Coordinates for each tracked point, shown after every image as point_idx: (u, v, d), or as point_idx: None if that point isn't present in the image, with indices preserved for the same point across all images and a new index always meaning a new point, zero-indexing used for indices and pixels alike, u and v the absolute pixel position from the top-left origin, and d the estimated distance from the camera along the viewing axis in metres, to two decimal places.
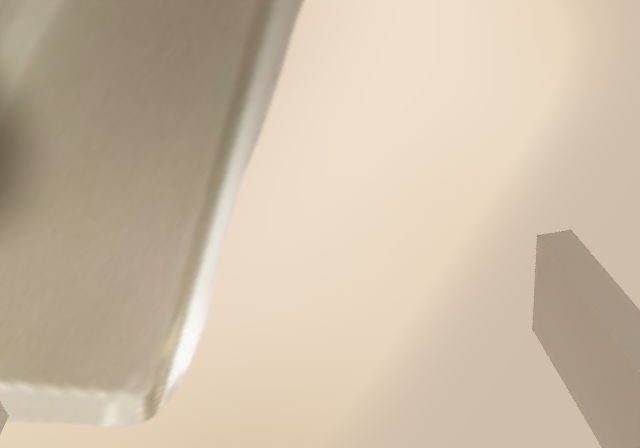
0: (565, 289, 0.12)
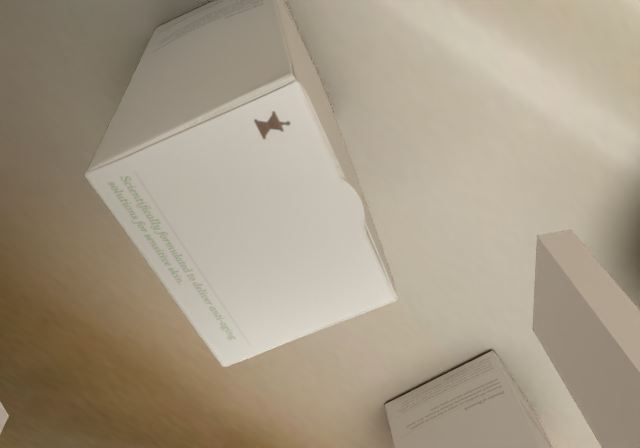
0: (565, 290, 0.12)
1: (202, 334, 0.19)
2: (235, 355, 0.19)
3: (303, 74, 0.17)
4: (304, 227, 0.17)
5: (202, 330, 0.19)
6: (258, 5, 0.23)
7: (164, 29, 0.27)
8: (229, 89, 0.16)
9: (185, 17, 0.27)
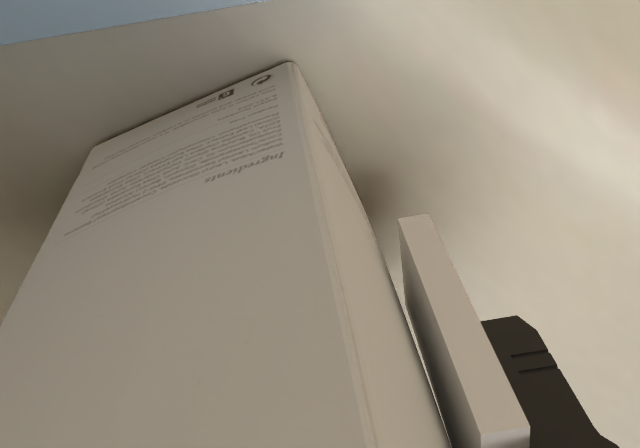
0: (411, 265, 0.13)
1: None
2: None
3: None
4: None
5: None
6: (273, 157, 0.11)
7: (102, 161, 0.15)
8: None
9: (139, 139, 0.15)
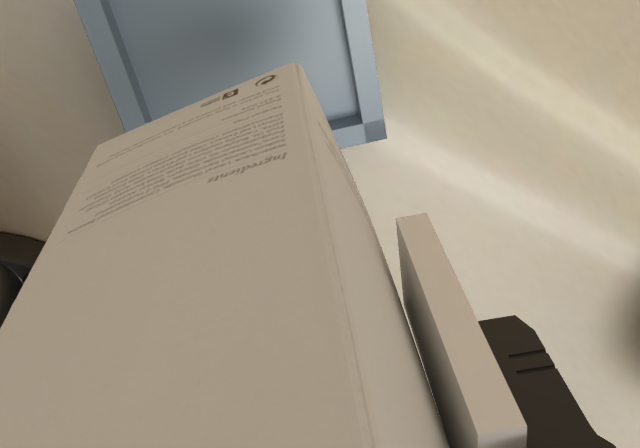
0: (409, 265, 0.14)
1: None
2: None
3: None
4: None
5: None
6: (276, 158, 0.11)
7: (106, 159, 0.15)
8: None
9: (144, 138, 0.15)
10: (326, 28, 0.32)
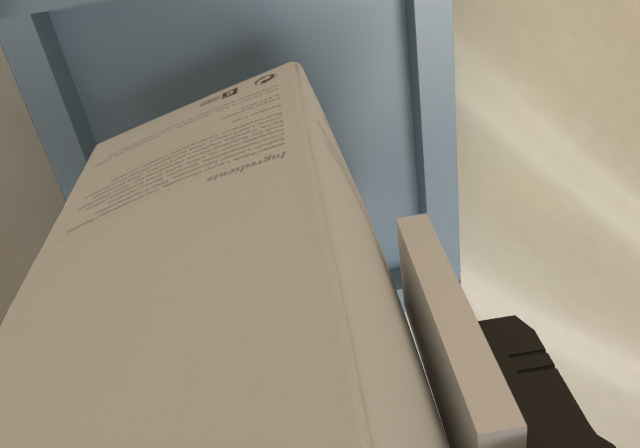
0: (409, 265, 0.14)
1: None
2: None
3: None
4: None
5: None
6: (275, 157, 0.11)
7: (105, 158, 0.15)
8: None
9: (143, 137, 0.15)
10: (391, 157, 0.23)
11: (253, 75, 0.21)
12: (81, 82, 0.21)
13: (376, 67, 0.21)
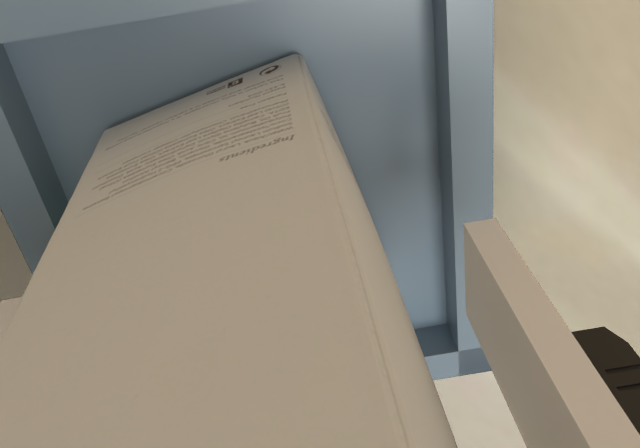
0: (483, 273, 0.13)
1: None
2: None
3: None
4: None
5: None
6: (284, 139, 0.12)
7: (115, 143, 0.16)
8: None
9: (151, 123, 0.16)
10: (413, 207, 0.20)
11: None
12: (45, 124, 0.17)
13: (398, 105, 0.18)
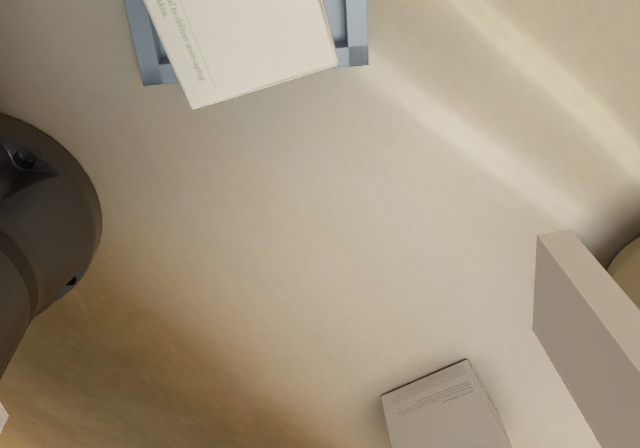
0: (565, 289, 0.12)
1: (177, 72, 0.23)
2: (202, 97, 0.24)
3: None
4: None
5: (178, 68, 0.23)
6: None
7: None
8: None
9: None
10: None
11: None
12: None
13: None
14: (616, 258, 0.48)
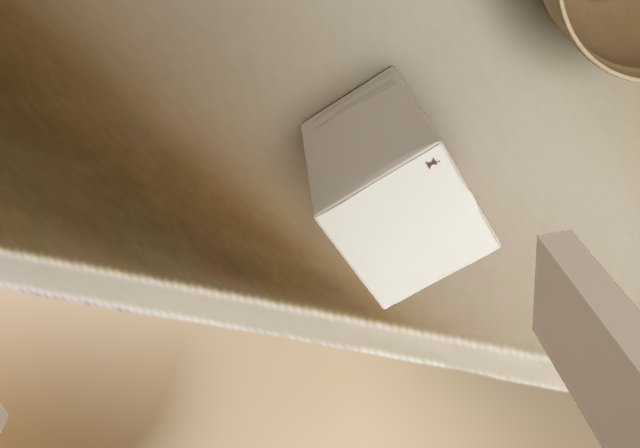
0: (565, 289, 0.12)
1: None
2: None
3: None
4: None
5: None
6: None
7: None
8: None
9: None
10: None
11: None
12: None
13: None
14: None
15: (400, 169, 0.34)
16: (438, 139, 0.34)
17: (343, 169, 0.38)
